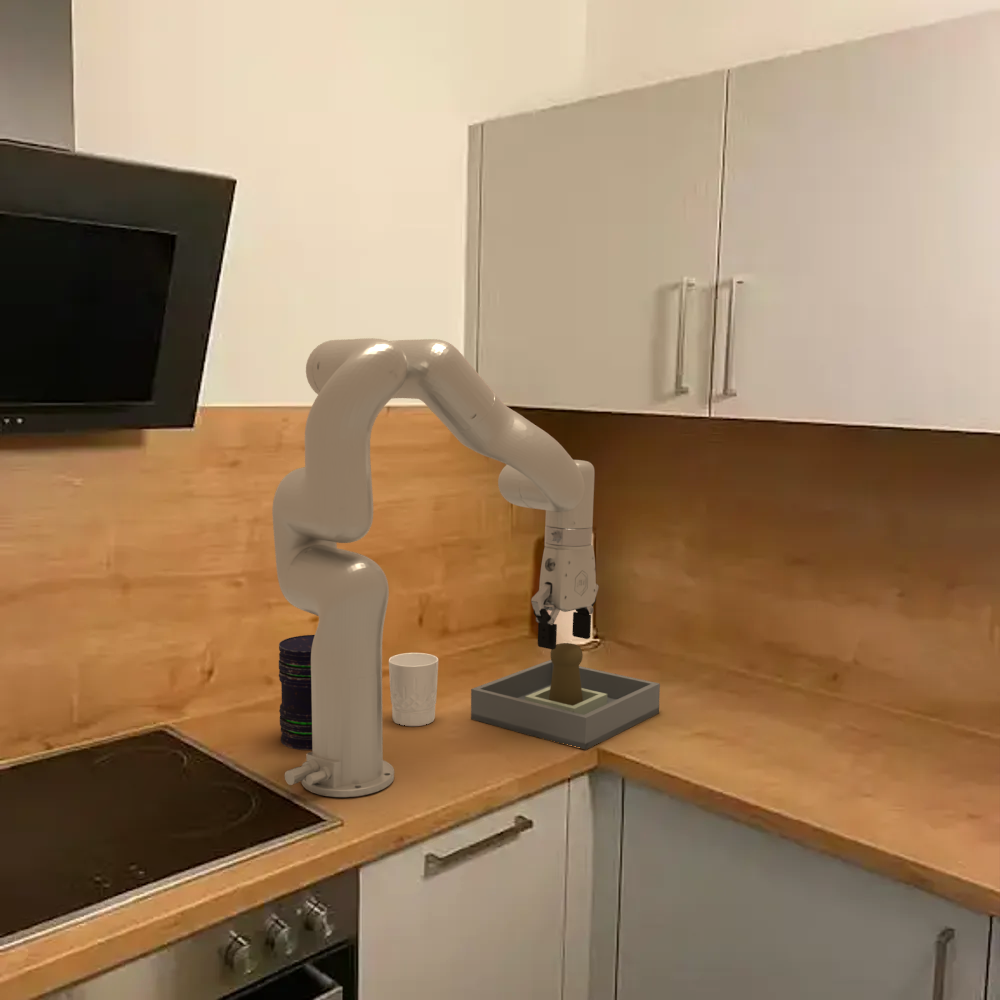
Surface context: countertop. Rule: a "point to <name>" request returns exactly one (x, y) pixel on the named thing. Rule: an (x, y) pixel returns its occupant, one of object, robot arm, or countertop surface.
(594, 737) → the open box
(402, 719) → the white cup
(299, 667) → the storage jar
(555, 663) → the brown pepper mill
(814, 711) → the countertop surface
